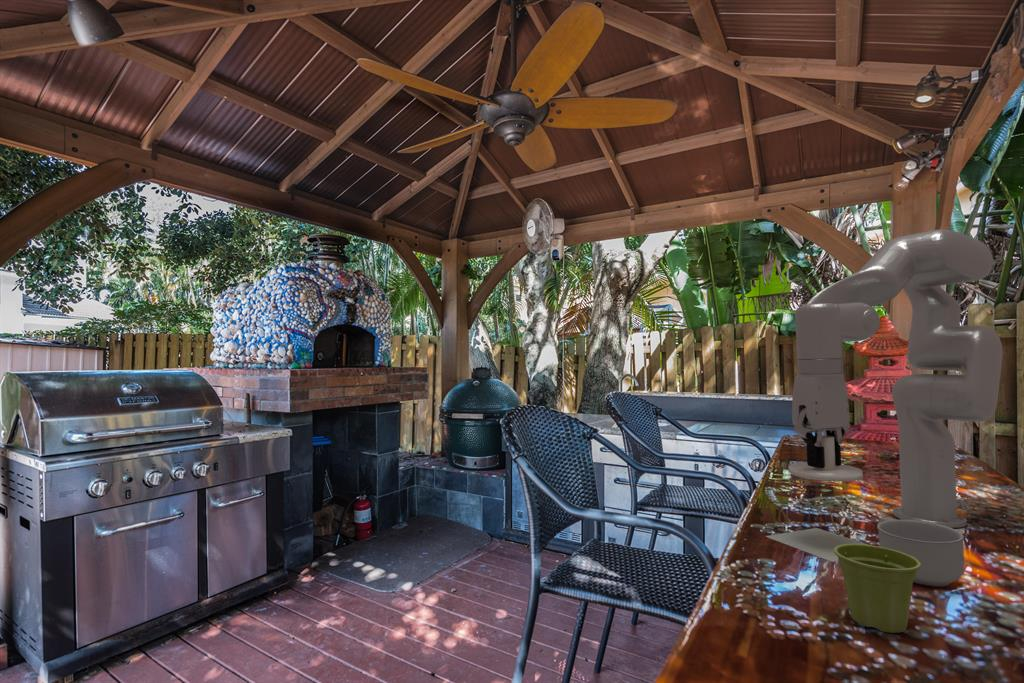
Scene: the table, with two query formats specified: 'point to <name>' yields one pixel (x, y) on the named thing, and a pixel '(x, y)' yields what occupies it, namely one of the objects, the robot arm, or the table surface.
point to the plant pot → (878, 585)
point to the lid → (827, 466)
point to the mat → (814, 542)
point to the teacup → (926, 548)
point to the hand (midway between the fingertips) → (824, 464)
